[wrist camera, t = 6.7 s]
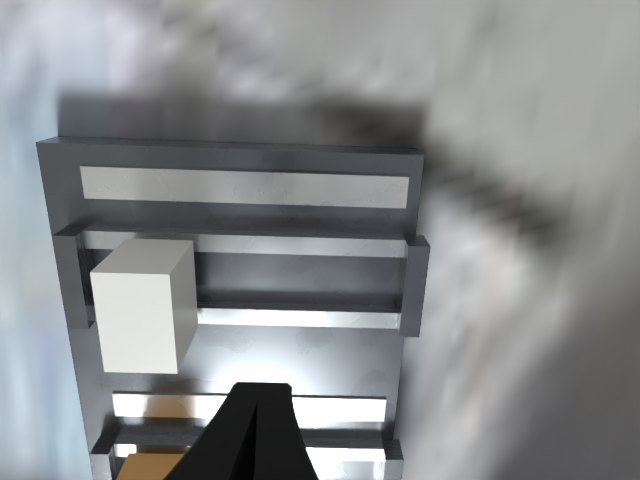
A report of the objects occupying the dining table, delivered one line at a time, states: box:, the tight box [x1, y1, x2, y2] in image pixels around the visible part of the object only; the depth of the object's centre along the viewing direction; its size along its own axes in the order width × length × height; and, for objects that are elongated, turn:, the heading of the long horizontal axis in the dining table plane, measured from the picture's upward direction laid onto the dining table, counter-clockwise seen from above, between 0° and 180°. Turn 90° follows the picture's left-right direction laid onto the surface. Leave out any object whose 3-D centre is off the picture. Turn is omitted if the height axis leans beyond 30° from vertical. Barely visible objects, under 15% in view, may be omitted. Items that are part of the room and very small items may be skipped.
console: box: [36, 136, 430, 480], centre depth 21 cm, size 14×20×3 cm
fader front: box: [90, 239, 198, 374], centre depth 17 cm, size 2×4×4 cm, turn 178°
